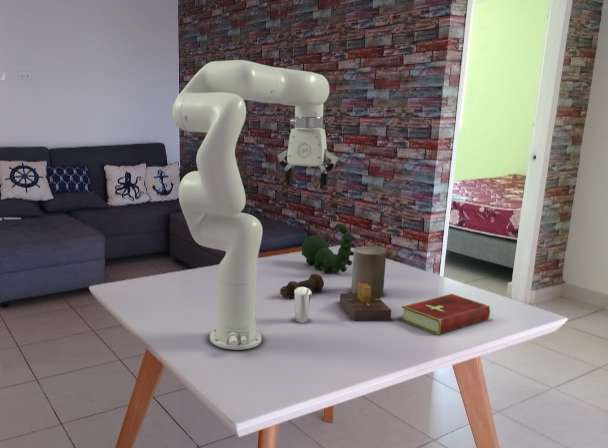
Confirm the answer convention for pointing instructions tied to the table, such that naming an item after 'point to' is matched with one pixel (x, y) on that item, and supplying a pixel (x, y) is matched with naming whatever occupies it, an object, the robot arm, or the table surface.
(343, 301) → the lock plate
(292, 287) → the bolt
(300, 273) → the table surface
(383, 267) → the pillar candle
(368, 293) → the thumbturn
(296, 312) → the milkshake
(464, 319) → the hardcover book
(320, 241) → the toy figurine
